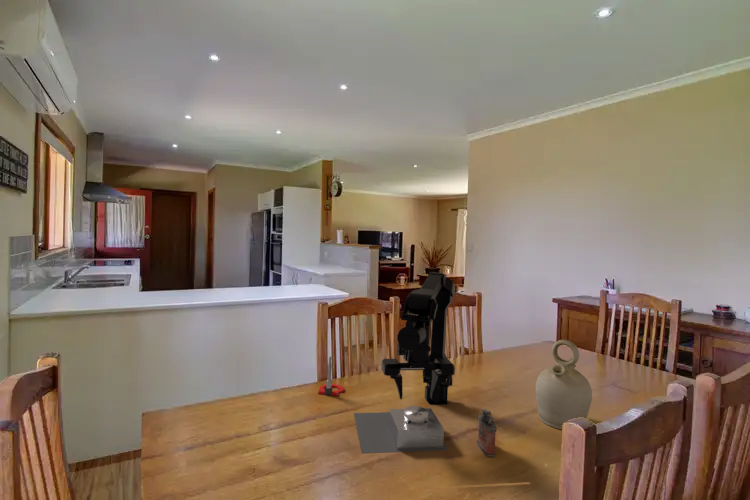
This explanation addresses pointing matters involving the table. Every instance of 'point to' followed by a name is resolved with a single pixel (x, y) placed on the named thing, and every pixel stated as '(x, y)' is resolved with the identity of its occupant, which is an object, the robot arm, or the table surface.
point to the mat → (379, 434)
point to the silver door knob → (415, 415)
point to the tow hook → (328, 387)
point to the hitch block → (415, 431)
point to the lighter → (486, 433)
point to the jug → (562, 390)
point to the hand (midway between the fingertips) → (416, 398)
